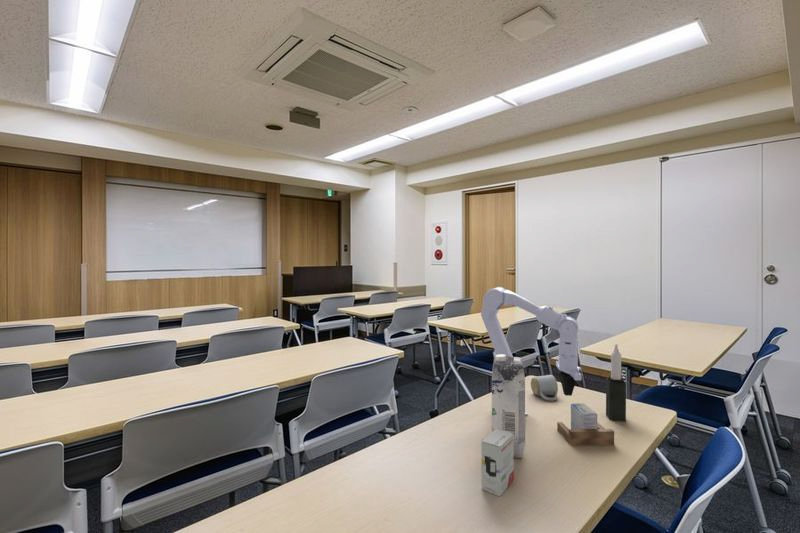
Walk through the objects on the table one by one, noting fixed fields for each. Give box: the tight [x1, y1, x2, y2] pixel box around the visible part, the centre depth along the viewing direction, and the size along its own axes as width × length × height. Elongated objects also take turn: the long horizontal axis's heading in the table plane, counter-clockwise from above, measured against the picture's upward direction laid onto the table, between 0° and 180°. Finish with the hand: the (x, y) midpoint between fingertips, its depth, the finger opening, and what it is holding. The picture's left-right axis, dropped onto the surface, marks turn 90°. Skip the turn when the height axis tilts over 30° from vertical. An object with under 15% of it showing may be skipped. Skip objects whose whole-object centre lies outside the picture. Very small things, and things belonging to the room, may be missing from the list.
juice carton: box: [491, 354, 526, 459], centre depth 106 cm, size 9×10×27 cm
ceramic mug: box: [530, 374, 559, 402], centre depth 145 cm, size 11×8×8 cm
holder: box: [556, 421, 615, 446], centre depth 113 cm, size 12×10×4 cm
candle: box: [605, 343, 627, 422], centre depth 125 cm, size 5×5×25 cm
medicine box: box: [570, 402, 598, 429], centre depth 113 cm, size 8×4×9 cm, turn 1°
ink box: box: [481, 429, 515, 497], centre depth 90 cm, size 9×5×12 cm, turn 141°
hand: (567, 394), depth 124 cm, fingers closed
